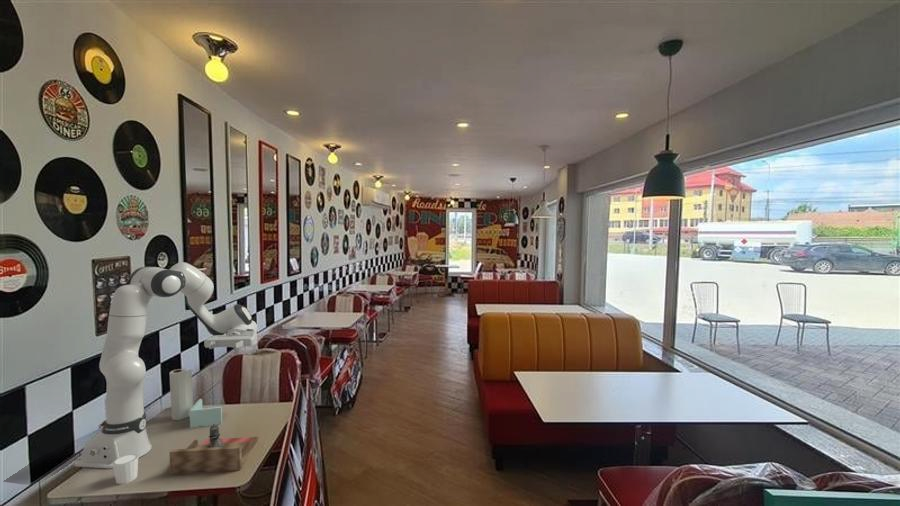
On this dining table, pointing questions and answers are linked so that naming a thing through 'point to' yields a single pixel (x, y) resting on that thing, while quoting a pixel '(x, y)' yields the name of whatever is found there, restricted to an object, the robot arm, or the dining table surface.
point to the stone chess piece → (214, 437)
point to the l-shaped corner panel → (204, 415)
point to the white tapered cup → (125, 468)
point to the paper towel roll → (181, 393)
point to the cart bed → (212, 456)
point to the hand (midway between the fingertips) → (222, 346)
